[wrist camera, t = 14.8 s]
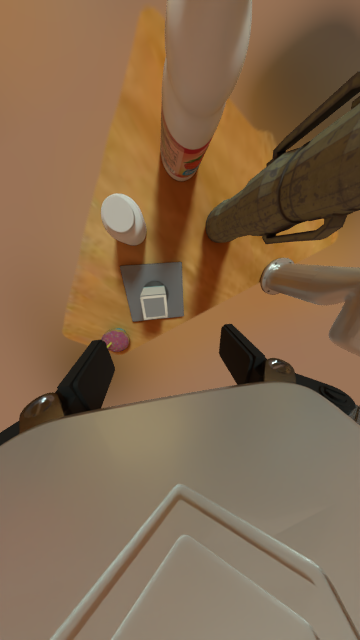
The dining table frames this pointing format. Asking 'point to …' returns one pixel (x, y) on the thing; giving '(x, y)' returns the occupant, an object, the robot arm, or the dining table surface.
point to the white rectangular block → (154, 302)
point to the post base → (154, 276)
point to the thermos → (300, 181)
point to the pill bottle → (123, 219)
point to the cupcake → (116, 339)
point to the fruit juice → (199, 75)
